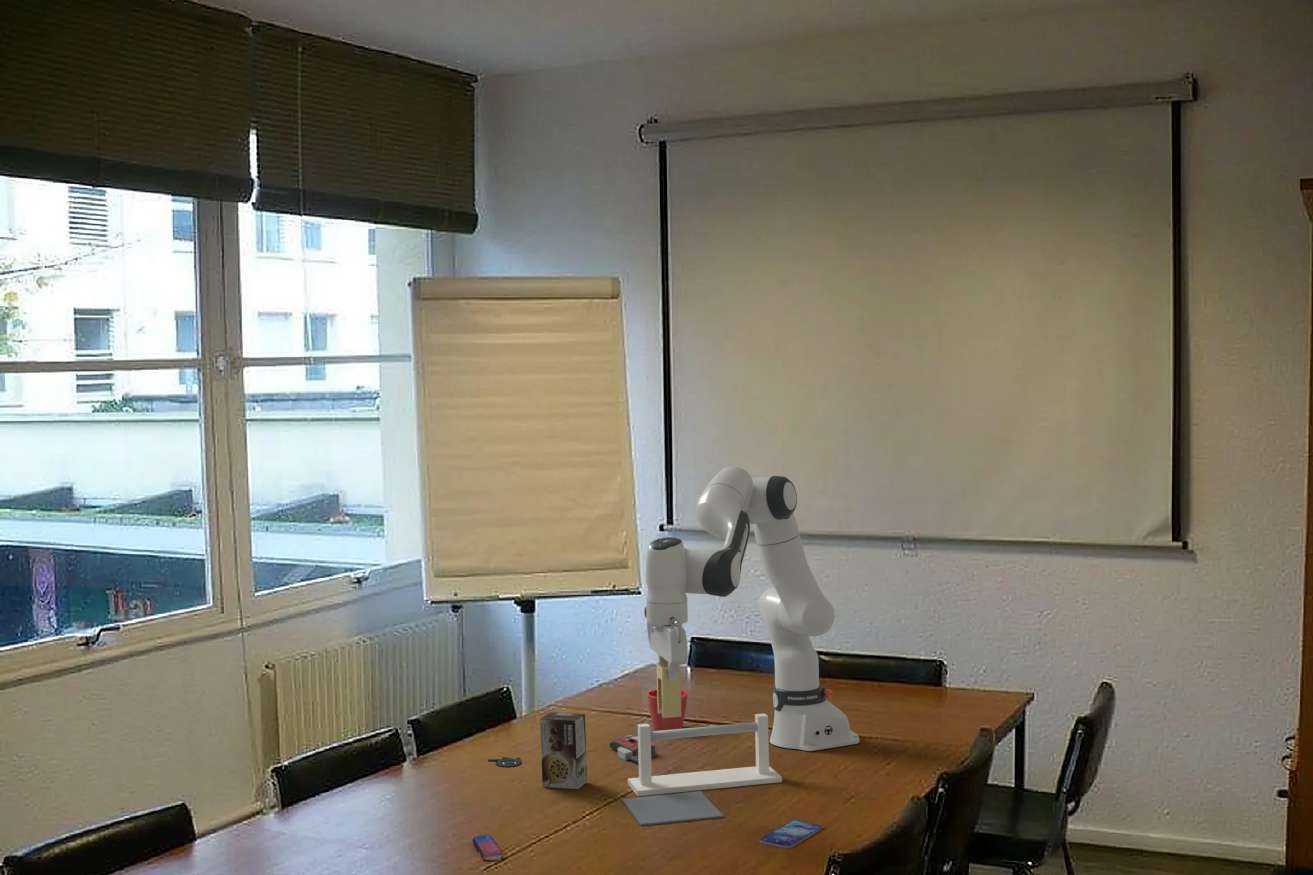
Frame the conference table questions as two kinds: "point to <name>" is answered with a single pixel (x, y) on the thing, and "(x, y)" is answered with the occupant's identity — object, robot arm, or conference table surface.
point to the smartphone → (790, 834)
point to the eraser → (487, 847)
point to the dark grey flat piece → (507, 762)
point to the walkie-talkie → (628, 747)
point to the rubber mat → (671, 808)
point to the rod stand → (703, 779)
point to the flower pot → (657, 719)
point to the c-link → (668, 692)
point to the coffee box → (563, 750)
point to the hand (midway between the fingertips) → (668, 677)
